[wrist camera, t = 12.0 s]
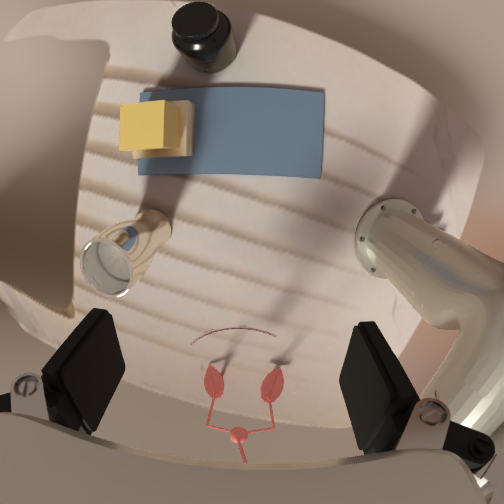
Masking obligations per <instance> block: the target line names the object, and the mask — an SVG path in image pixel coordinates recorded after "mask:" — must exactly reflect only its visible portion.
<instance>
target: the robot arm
mask: <svg viewBox="0 0 504 504" xmlns="http://www.w3.org/2000/svg"><path fill="white" fill-rule="evenodd" d="M381 206H382V208H381ZM360 237H361V239H359V238H360ZM355 250H356V255H357V258H358V260H359V262H360V263H361V265H362V266H363V267H364V269H365V270H366V271H367V272H369V273H370V274H371V275H373V276H375V277H378V278H383V279H388V280H389V281H390V282H391V283H392V284H393V285H394V286H395V287H396V288H397V290H398V291H399V292H400V293H401V294H402V295H403V296H404V297H405V298H406V300H407V301H408V302H409V303H410V304H411V305H412V306H413V308H414V309H415V310H416V311H417V312H418V313H419V314H420V315H421V317H422V318H423V319H424V320H425V321H426V322H427V323H429V324H430V325H431V326H433V327H436V328H438V329H443V330H456V329H459V332H458V335H457V337H456V339H455V341H454V343H453V345H452V346H451V348H450V351H449V352H448V354H447V356H446V357H445V359H444V360H443V362H442V364H441V365H440V367H439V368H438V370H437V371H436V373H435V374H434V376H433V377H432V378H431V380H430V381H429V383H428V385H427V386H426V388H425V389H424V390H423V392H422V393H421V395H420V397H419V396H418V395H417V393H416V391H415V389H414V387H413V386H412V383H411V382H410V380H409V378H408V376H407V375H406V373H405V371H404V369H403V367H402V366H401V364H400V362H399V360H398V359H397V357H396V356H395V354H394V353H393V351H392V350H391V348H390V346H389V345H388V343H387V341H386V340H385V338H384V336H383V335H382V333H381V331H380V330H379V328H378V326H377V325H376V323H375V322H373V321H369V322H359V324H358V326H354V328H353V332H352V336H351V339H350V343H349V347H348V350H347V354H346V357H345V360H344V364H343V367H342V370H341V374H340V378H339V383H340V387H341V390H342V394H343V397H344V400H345V403H346V407H347V410H348V414H349V417H350V420H351V424H352V427H353V431H354V434H355V438H356V441H357V445H358V448H359V450H363V452H364V455H362V456H355V457H348V458H340V459H331V460H320V461H309V462H292V463H291V462H290V463H244V462H226V461H213V460H202V459H195V458H187V457H180V456H174V455H168V454H162V453H157V452H152V451H147V450H142V449H138V448H134V447H130V446H126V445H121V444H118V443H114V442H111V441H107V440H103V439H100V438H97V437H94V436H91V433H92V431H93V432H94V431H96V429H97V427H98V425H99V423H100V421H101V419H102V417H103V415H104V412H105V410H106V408H107V406H108V404H109V402H110V400H111V398H112V396H113V394H114V392H115V390H116V388H117V386H118V384H119V382H120V380H121V378H122V376H123V374H124V372H125V362H124V359H123V356H122V352H121V349H120V345H119V341H118V337H117V334H116V330H115V326H114V322H113V317H112V315H111V314H109V312H108V311H107V310H105V309H98V308H93V309H92V310H91V311H90V312H89V313H88V314H87V316H86V317H85V318H84V319H83V320H82V321H81V322H80V324H79V325H78V326H77V327H76V328H75V329H74V331H73V332H72V333H71V334H70V335H69V337H68V338H67V339H66V340H65V341H64V343H63V344H62V345H61V346H60V347H59V349H58V350H57V351H56V352H55V354H54V355H53V356H52V357H51V359H50V360H49V361H48V362H47V364H46V365H45V366H44V368H43V369H42V370H41V371H42V373H43V375H42V376H41V377H40V376H39V375H37V374H35V373H31V372H29V373H24V374H21V375H19V376H18V377H16V379H15V380H14V381H13V382H12V384H11V392H10V393H6V394H3V395H0V504H504V263H503V262H501V261H498V260H496V259H494V258H492V257H490V256H488V255H486V254H484V253H482V252H481V251H479V250H477V249H475V248H473V247H472V246H470V245H468V244H466V243H464V242H463V241H461V240H459V239H457V238H455V237H454V236H452V235H450V234H448V233H446V232H444V231H443V230H441V229H439V228H437V227H435V226H433V225H431V224H429V223H427V222H425V220H424V218H423V216H422V214H421V213H420V211H419V210H418V209H417V208H416V207H415V206H414V205H413V204H411V203H409V202H407V201H405V200H402V199H395V198H394V199H386V200H383V201H381V202H379V203H377V204H375V205H374V206H373V207H371V208H370V209H369V210H368V211H367V212H366V214H365V215H364V216H363V218H362V219H361V221H360V223H359V225H358V228H357V231H356V236H355ZM371 268H372V269H371Z"/></svg>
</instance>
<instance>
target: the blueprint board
mask: <svg viewBox="0 0 504 504" xmlns="http://www.w3.org/2000/svg"><path fill="white" fill-rule="evenodd" d="M157 100H166V101H179V100H189V101H190V102H191V103H193V104H194V105H195V109H194V138H193V156H174V157H152V158H138V175H165V174H241V175H269V176H288V177H303V178H316V179H320V177H321V161H322V143H323V119H324V93H321V92H313V91H304V90H293V89H280V88H263V87H202V88H184V89H171V90H161V91H152V92H144V93H140V102H148V101H157Z"/></svg>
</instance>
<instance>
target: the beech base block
mask: <svg viewBox="0 0 504 504" xmlns="http://www.w3.org/2000/svg"><path fill="white" fill-rule="evenodd" d="M168 102H170V103H172V104H174V105H175V106H177V107H179V108H180V116H179V148H165V149H148V150H133V159H136V158H152V157H174V156H193V138H194V109H195V105H194V104H193V103H191V102H190V101H189V100H179V101H168Z"/></svg>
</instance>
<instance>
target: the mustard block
mask: <svg viewBox="0 0 504 504" xmlns="http://www.w3.org/2000/svg"><path fill="white" fill-rule="evenodd" d="M179 116H180V108H179V107H177V106H175V105H174V104H172V103H170V102H168V101H166V100H157V101H148V102H140V103H132V104H125V105H121V106H120V133H119V151H128V150H148V149H165V148H179Z"/></svg>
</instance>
